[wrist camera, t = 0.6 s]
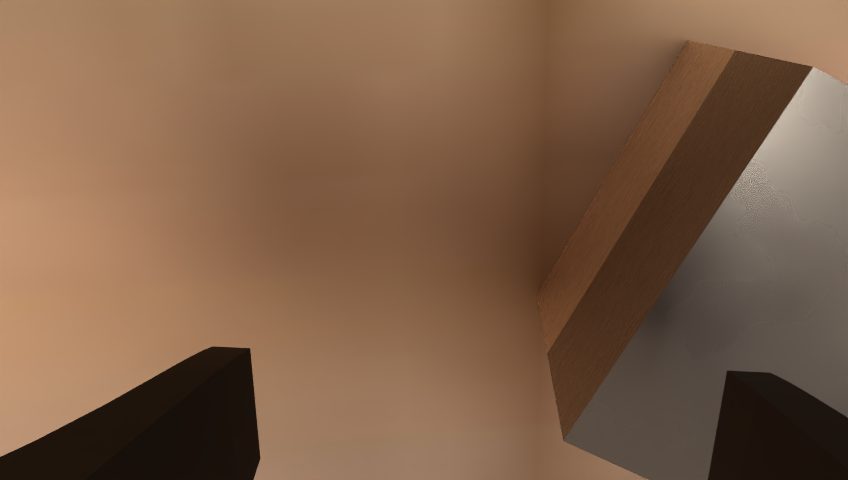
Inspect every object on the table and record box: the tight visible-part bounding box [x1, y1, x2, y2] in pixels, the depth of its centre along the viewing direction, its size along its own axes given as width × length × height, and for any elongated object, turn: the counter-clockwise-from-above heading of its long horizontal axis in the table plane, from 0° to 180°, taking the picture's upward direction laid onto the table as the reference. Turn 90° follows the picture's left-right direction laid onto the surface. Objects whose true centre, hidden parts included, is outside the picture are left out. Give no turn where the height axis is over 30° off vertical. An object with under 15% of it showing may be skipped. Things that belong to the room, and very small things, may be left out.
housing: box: [537, 40, 848, 480], centre depth 15 cm, size 4×8×7 cm, turn 155°
